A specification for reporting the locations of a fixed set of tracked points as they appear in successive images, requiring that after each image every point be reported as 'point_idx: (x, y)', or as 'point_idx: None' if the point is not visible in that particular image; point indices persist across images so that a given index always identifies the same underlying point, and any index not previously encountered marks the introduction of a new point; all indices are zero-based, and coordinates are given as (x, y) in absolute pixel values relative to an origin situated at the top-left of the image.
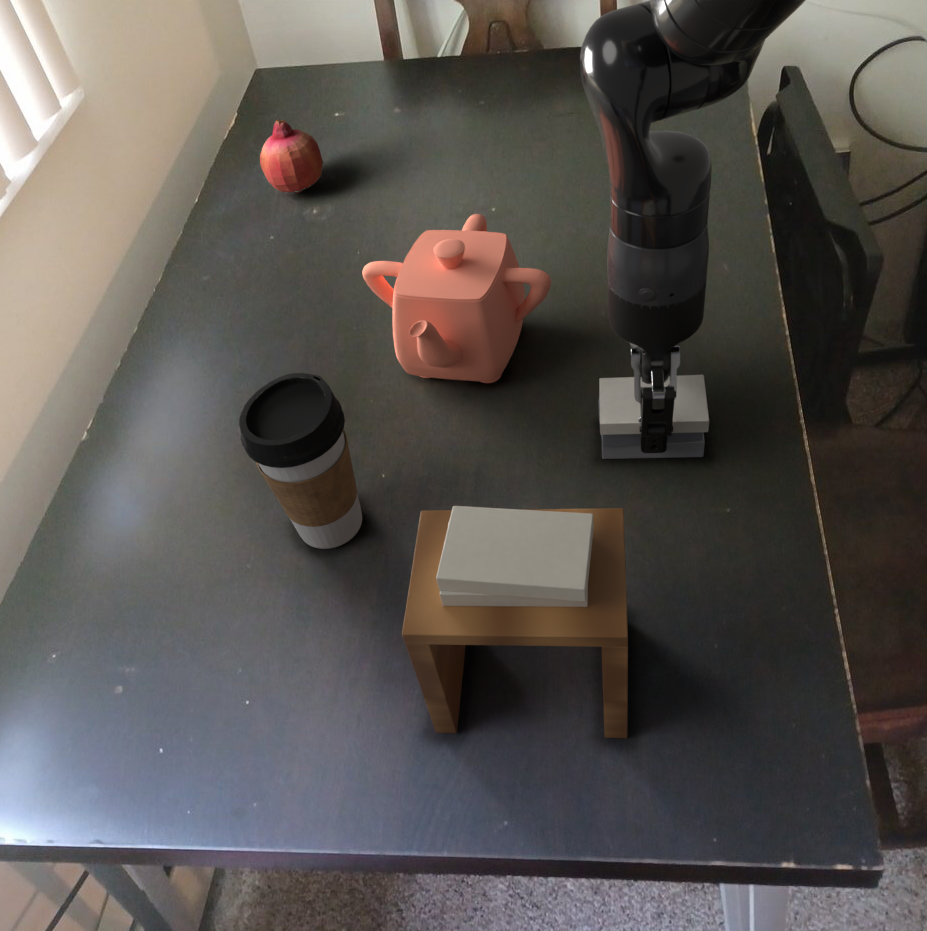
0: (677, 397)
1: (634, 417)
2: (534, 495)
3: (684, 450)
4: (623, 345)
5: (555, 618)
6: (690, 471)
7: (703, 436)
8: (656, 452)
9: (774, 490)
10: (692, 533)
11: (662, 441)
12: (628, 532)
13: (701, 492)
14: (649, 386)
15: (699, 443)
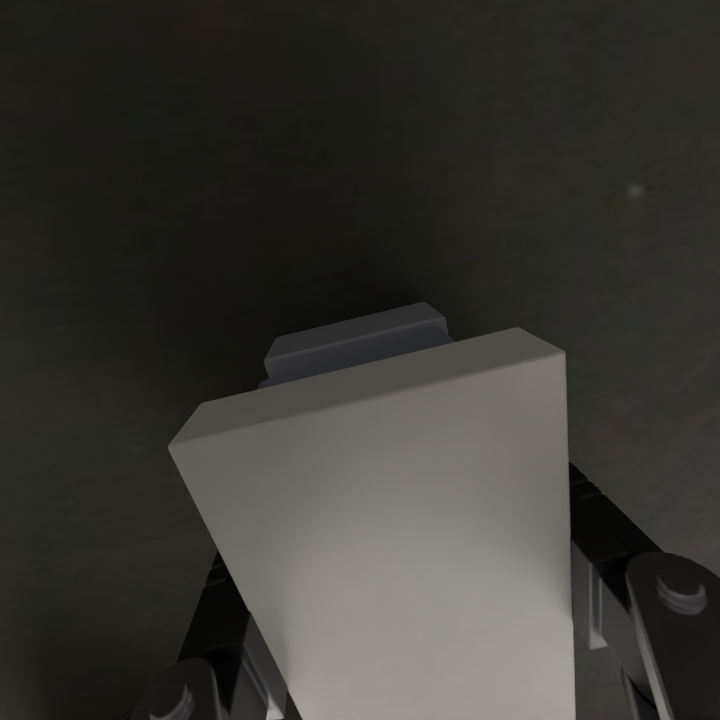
0: (391, 530)
1: (539, 644)
2: None
3: None
4: (26, 586)
5: None
6: (484, 327)
7: (417, 325)
8: None
9: (553, 20)
10: (712, 283)
11: (607, 499)
12: (690, 434)
13: (564, 283)
14: (340, 643)
15: (447, 332)
